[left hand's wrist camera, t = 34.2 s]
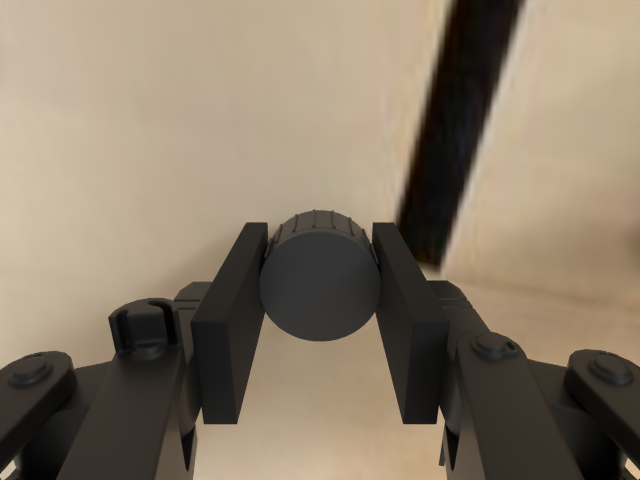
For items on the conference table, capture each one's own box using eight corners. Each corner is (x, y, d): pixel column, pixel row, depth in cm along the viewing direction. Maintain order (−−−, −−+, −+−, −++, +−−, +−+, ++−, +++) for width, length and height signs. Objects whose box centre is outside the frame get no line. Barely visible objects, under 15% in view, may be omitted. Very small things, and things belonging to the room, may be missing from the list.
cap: (246, 235, 14) (233, 261, 12) (348, 189, 13) (353, 207, 11) (295, 321, 15) (291, 359, 13) (390, 283, 15) (402, 315, 13)
